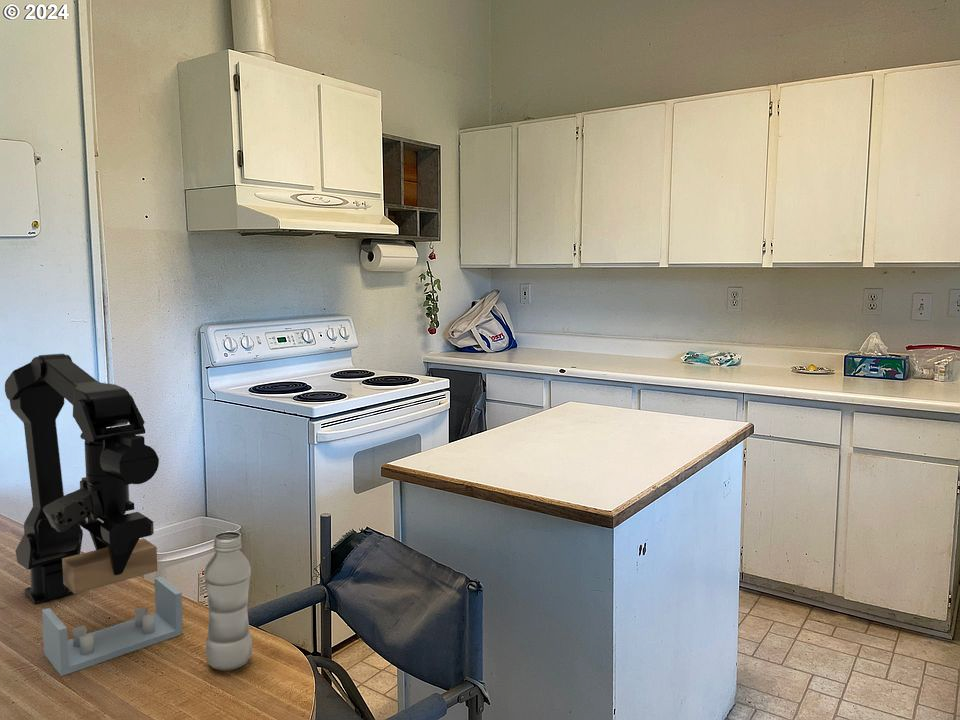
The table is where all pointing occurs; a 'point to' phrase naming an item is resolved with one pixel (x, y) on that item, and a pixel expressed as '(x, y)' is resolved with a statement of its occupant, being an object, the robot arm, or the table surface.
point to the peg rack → (113, 633)
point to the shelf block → (106, 567)
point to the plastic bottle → (228, 604)
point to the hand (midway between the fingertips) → (111, 569)
